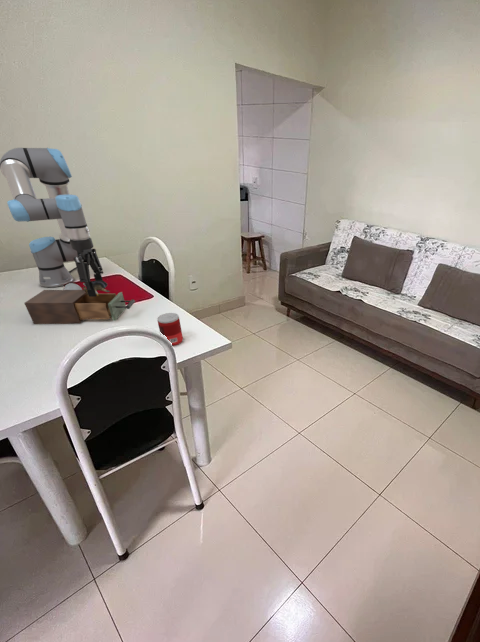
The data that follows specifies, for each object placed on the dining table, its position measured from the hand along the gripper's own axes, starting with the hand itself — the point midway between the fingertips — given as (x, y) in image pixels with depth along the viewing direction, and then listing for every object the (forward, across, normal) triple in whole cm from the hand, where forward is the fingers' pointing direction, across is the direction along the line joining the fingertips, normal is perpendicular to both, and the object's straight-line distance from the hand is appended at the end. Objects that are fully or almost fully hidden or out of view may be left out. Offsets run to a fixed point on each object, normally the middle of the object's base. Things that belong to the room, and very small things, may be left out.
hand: (97, 292), depth 141 cm
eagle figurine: (+1, 0, 0) cm, 1 cm away
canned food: (+12, -24, -35) cm, 44 cm away
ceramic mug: (+12, +18, +20) cm, 29 cm away
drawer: (+11, 0, -1) cm, 11 cm away
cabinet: (+12, 0, +17) cm, 20 cm away
